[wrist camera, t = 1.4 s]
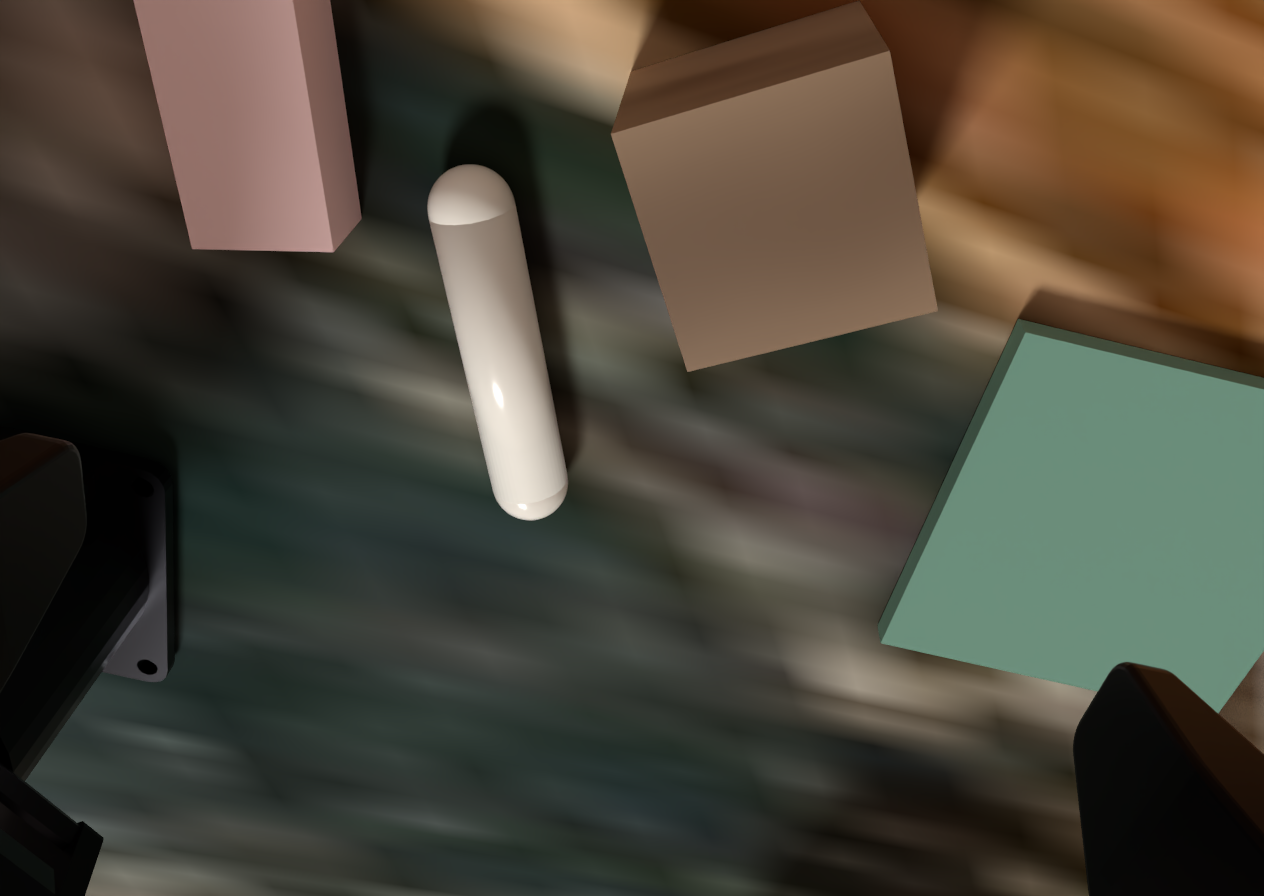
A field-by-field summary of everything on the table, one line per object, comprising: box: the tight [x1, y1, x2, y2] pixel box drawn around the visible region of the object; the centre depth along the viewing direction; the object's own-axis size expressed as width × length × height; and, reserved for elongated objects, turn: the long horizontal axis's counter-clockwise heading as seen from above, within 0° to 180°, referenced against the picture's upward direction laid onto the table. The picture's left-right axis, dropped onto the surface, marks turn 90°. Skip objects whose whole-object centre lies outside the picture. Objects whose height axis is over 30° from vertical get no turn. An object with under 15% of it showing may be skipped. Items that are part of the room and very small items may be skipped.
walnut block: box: [611, 1, 938, 372], centre depth 18 cm, size 4×4×4 cm
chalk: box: [427, 164, 568, 520], centre depth 21 cm, size 8×2×2 cm, turn 7°
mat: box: [878, 319, 1264, 713], centre depth 23 cm, size 8×8×1 cm
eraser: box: [134, 0, 362, 252], centre depth 19 cm, size 5×3×2 cm, turn 0°
